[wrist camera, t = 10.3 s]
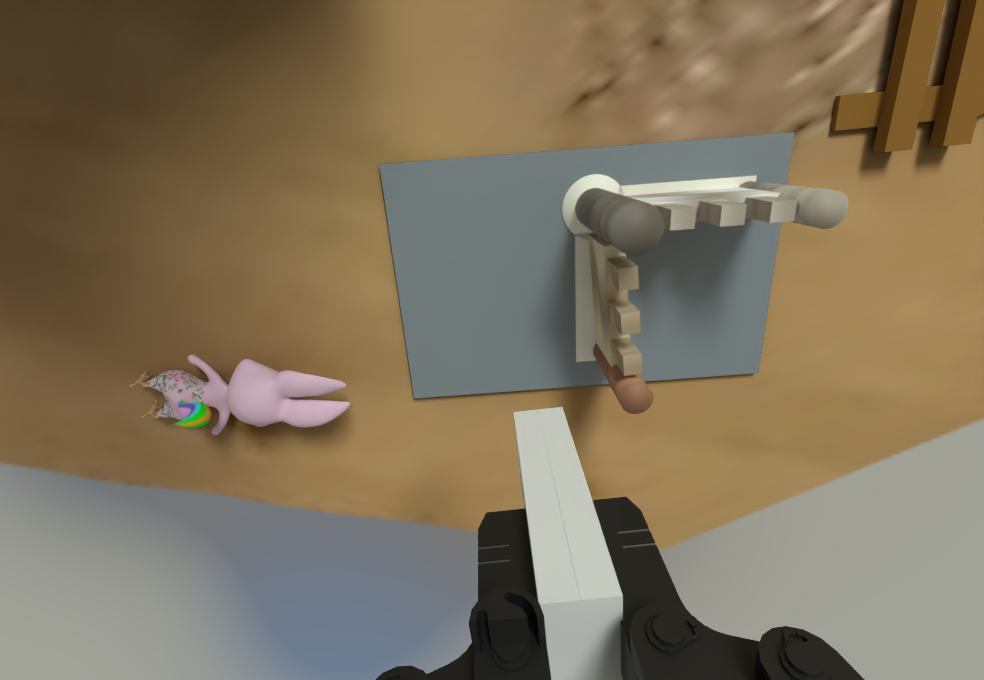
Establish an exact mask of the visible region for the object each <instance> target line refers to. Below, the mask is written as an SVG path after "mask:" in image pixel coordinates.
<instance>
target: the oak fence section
mask: <svg viewBox="0 0 984 680" xmlns="http://www.w3.org/2000/svg"><path fill="white" fill-rule="evenodd" d="M588 237H589V250H590V263H591V276H592V289H593V302H594V315H595V328H596V341H597V343H596V344H595V346H594V348H593V355H594V357H595V359H596V361H597V363H598V364H599V366H600V368H601V370H602V372H603V373H604V375H605V377H606V379H607V381H608V382H609V384H610V386H611V388H612V390H613V391H614V393H615V395H616V397H617V399H618V400H619V402H620V404H621V406H622V408H623V409H624V410H625V411H627V412H628V413H632V414H638V413H642V412H644V411H646V410H647V409H648V408H649V407H650V406H651V404H652V402H653V394H652V392H651V390H650V389H649V387H648V386H647V385H646V383H645V382H644V380H643V379H642V377H641V376H640V375H639V374H642V356H641V353H640V351H639V350H638V349H637V348H636V346H635V345H634V344H633V343H632V341H631V340H630V334H634V333H640V332H641V331H640V311H639V310H638V309H637V308H636V307H635V306H634V305H633V304H632V303H631V302H630V301H629V300H628V290H633V289H639V281H638V266H637V265H636V264H635V263H633V262H632V261H631V260H629V259H628V258H626V254H624V253H623V252H621V251H619V250H618V249H617V248H615V247H614V246H612V245H611V244H610V243H608V242H607V241H605V240H604V239H603V238H601V237H600V236H598V235H597V234H590V235H588Z"/></svg>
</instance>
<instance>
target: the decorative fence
mask: <svg viewBox="0 0 984 680" xmlns="http://www.w3.org/2000/svg"><path fill="white" fill-rule="evenodd" d="M944 2H945V0H904V2H903V8H902V13H901V17H900V22H899V27H898V32H897V37H896V41H895V46H894V51H893V56H892V61H891V66H890V70H889V75H888V80H887V85H886V90H885V91H881V92H872V93H862V94H852V95H843V96H836V99H835V106H834V112H833V119H832V125H831V131H839V130H848V129H858V128H868V127H878V128H877V133H876V138H875V143H874V147H873V152H891V151H901V150H911V149H912V148H913V143H914V139H915V134H916V130H917V125H918V122H927V121H935V123H934V127H933V132H932V136H931V141H930V145H929V146H951V145H961V144H971V141H972V137H973V133H974V129H975V125H976V121H977V117H978V116H980V115H983V114H984V0H961V5H960V10H959V15H958V19H957V24H956V28H955V33H954V37H953V42H952V46H951V51H950V55H949V60H948V64H947V69H946V73H945V78H944V82H943V85H940V86H930V87H926V84H927V80H928V75H929V71H930V66H931V62H932V57H933V53H934V48H935V44H936V39H937V34H938V30H939V25H940V21H941V16H942V12H943V7H944Z"/></svg>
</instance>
